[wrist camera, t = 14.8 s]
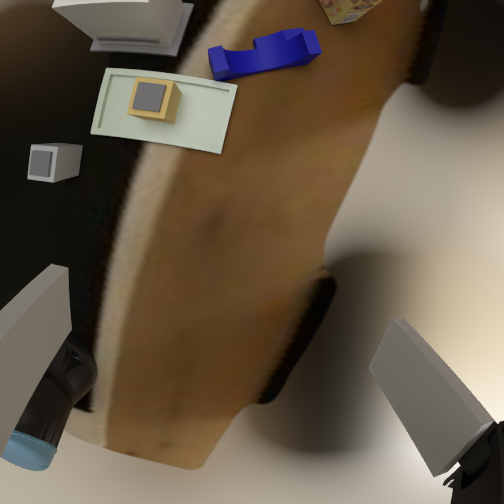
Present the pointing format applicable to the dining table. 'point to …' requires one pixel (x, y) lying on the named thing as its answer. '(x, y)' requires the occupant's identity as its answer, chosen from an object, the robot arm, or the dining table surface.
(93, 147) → the dining table surface
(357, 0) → the candy box
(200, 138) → the tray
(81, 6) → the block
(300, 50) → the cable clip
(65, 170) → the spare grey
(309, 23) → the dining table surface
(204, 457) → the dining table surface
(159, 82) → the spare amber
